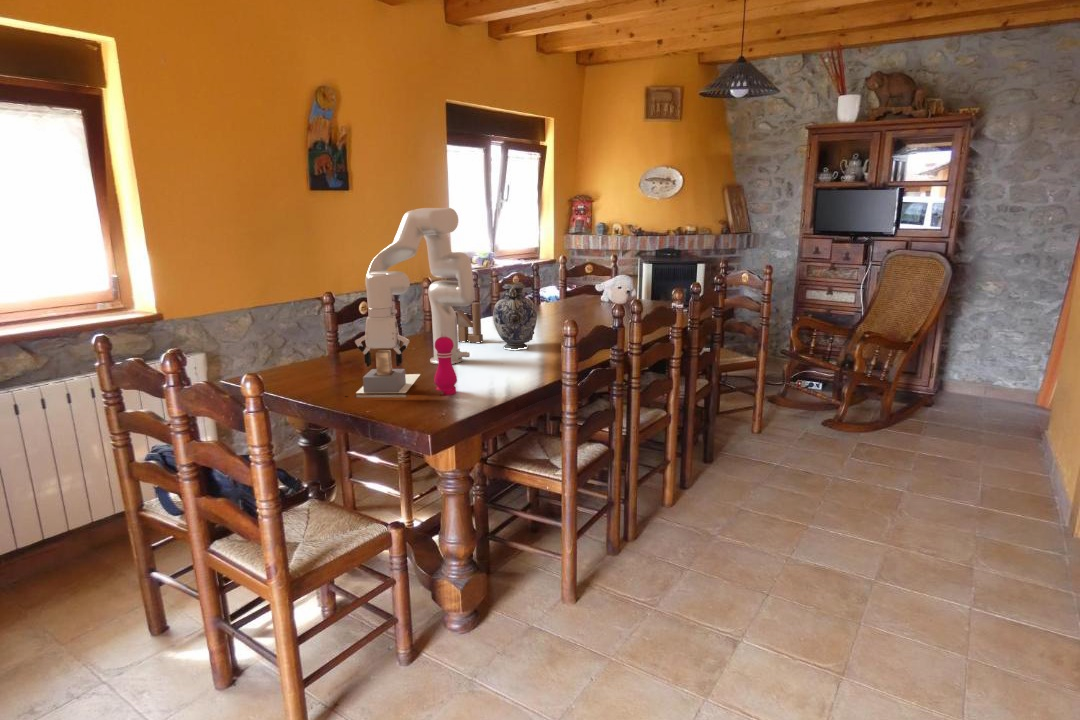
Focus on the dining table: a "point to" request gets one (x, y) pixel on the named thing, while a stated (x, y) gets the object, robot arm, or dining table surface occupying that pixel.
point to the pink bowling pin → (445, 366)
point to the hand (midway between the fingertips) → (383, 365)
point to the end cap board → (386, 383)
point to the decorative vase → (515, 316)
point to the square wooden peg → (384, 362)
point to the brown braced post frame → (470, 325)
